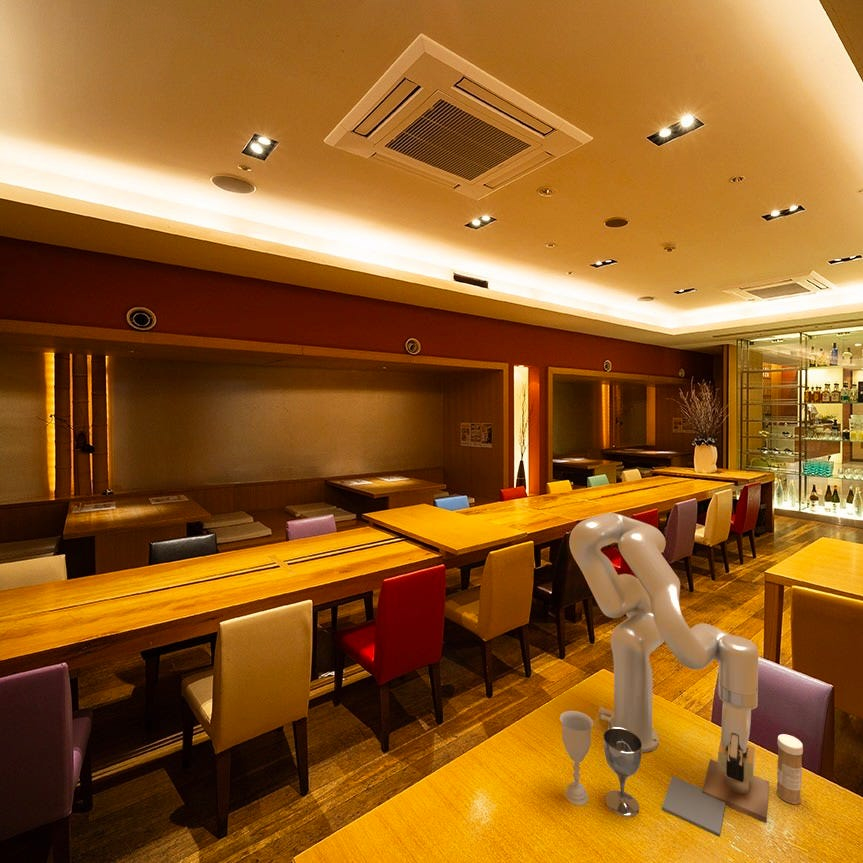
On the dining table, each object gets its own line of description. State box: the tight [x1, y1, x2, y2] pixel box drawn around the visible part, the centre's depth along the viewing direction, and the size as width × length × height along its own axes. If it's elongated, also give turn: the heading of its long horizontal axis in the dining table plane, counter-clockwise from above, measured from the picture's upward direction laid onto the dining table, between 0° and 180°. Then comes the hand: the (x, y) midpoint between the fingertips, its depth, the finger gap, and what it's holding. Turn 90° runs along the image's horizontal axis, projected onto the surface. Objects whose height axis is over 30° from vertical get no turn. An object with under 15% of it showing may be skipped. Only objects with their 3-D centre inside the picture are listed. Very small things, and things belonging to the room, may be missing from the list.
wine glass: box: [602, 728, 643, 818], centre depth 106 cm, size 8×8×15 cm
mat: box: [661, 775, 726, 837], centre depth 106 cm, size 11×11×1 cm
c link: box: [717, 740, 756, 782], centre depth 109 cm, size 7×7×4 cm
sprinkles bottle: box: [776, 733, 804, 805], centre depth 107 cm, size 5×5×14 cm
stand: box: [702, 752, 770, 824], centre depth 109 cm, size 12×12×9 cm
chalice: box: [559, 710, 594, 806], centre depth 108 cm, size 7×7×18 cm
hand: (736, 767), depth 109 cm, fingers closed on c link, 6 cm apart
